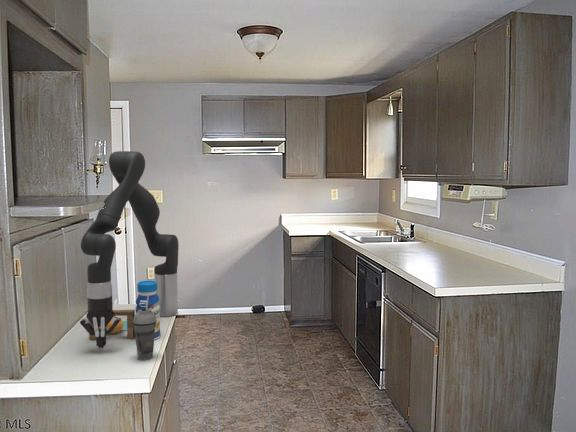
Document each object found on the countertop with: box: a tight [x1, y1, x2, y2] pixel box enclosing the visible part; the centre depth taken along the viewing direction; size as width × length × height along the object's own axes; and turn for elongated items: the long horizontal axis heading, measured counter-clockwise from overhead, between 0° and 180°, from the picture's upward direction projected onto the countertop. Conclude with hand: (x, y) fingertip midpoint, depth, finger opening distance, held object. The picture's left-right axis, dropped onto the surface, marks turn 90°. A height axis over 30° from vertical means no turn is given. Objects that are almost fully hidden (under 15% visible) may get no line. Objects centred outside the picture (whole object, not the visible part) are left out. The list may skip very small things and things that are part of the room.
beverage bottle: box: [134, 280, 161, 341], centre depth 170 cm, size 8×8×20 cm
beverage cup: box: [133, 295, 157, 361], centre depth 151 cm, size 7×7×20 cm
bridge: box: [88, 309, 136, 341], centre depth 170 cm, size 3×15×10 cm, turn 95°
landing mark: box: [120, 320, 127, 332], centre depth 184 cm, size 12×12×1 cm
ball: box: [107, 316, 124, 334], centre depth 176 cm, size 6×6×6 cm
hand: (101, 347), depth 157 cm, fingers closed
